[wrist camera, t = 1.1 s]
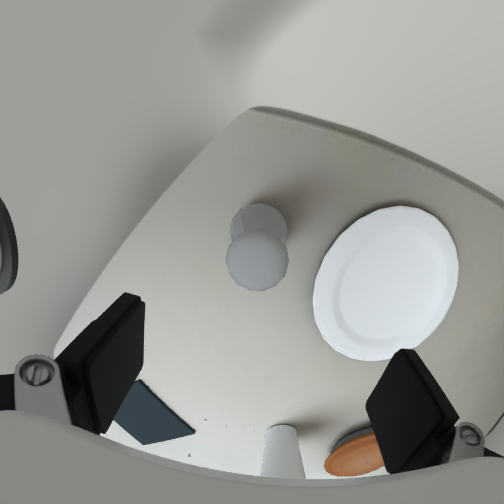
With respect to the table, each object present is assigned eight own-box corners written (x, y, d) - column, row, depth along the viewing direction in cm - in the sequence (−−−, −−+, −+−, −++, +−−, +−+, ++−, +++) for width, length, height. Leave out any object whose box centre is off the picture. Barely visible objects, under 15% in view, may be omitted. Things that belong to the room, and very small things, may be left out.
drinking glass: (268, 417, 39) (268, 496, 25) (307, 423, 39) (317, 498, 25) (255, 438, 41) (252, 510, 27) (291, 444, 41) (296, 513, 27)
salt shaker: (246, 260, 32) (235, 317, 20) (223, 214, 31) (196, 244, 18) (294, 240, 31) (314, 285, 19) (273, 192, 30) (280, 207, 17)
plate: (274, 297, 33) (274, 304, 32) (393, 166, 28) (400, 166, 27) (375, 376, 36) (379, 383, 35) (472, 276, 31) (478, 280, 30)
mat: (93, 397, 41) (92, 399, 40) (139, 379, 38) (138, 381, 38) (144, 443, 44) (143, 445, 43) (195, 431, 41) (194, 433, 41)
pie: (407, 411, 39) (416, 429, 34) (387, 454, 43) (393, 471, 38) (326, 427, 40) (330, 449, 35) (318, 467, 44) (321, 486, 39)
